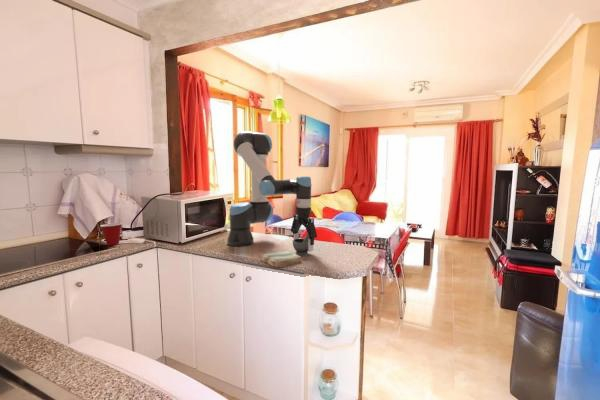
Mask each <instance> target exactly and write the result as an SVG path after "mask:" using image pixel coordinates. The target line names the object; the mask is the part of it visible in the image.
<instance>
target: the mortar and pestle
mask: <svg viewBox="0 0 600 400" xmlns="http://www.w3.org/2000/svg"><path fill="white" fill-rule="evenodd" d="M306 233H307V232H306ZM311 236H312V235H311ZM308 239H309V235H308V233H307V234H306V235H305V237H304V238H300V237H299V239H292V246H293V248H294V250H295V251H296V252H295V254H296V255H298V256H302V255H303V256H308V254H309V253H308V252H309V251H308Z"/></svg>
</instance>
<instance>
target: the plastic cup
mask: <svg viewBox="0 0 600 400" xmlns="http://www.w3.org/2000/svg"><path fill="white" fill-rule="evenodd" d="M99 226H100V228H101V230H102V233H103V236H104V240H105V243H106V246H109V247H110V246H117V245H119V243H120V239H121V233H122V226H123V222H114V223H113V222H112V223H106V224H101V225H99Z"/></svg>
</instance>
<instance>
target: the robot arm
mask: <svg viewBox="0 0 600 400" xmlns="http://www.w3.org/2000/svg"><path fill="white" fill-rule="evenodd" d="M272 141H273V140H272V138H271V137H270V136H269V135H268V134H267V133H263V132H255V131H248V130H247V131H241V132H239V133H237V134H236V136H235V137H234V139H233V149H234V151H235V153H236V155H238V156H239V157H241V159H243V161H244V162H245V164H246V165H247V167H248V168H249V169H250V172H251V195H252V196H251V199H250V200H249V201H248V202H247V201H246V202H236V203H233V204H231V205H230V207H229V212H228V213H229V233H228V236H227V243H226V244H227V245H228V246H231V247H244V246H245V247H246V246H250V245H253V244H254V236H253V232H252V230H251V225H252V224H253V225H254V224H259V223H267V222H269V221H270V220H271V219H272V218H273V215H274V207H273V205H272V204H271V203H270V200H269V199H268V198H267V197H268V196H269V197H270V196H279V195H281V196H282V195H295V199H296V201H295V202H296V203H295V205H296V207H295V211H296V212H295V214H294V215H293V220H292V225H291V227H290V228H291V229H290V232H292V235H293V238H292V240H294V239H300V237H299V236H300V235H299V231H300V228H301V226H303V227H304V228H305V230H306V233H308V235H309V239H308V252H314V245H315V239H316V238H318V233H317V230H316V224H315V219H314V217H313V218H312V217H310V215H311V214H312V207H311V206H312V178H311V177H310V176H297V177H296V179H290V178H289V179H287V178H286V179H275V178H274V176H273V174H271V172H270V170H269V169H268V168H267V160H266V159H267V157H268V156H269V153H271V151H272V148H273V142H272ZM311 235H312V236H311Z"/></svg>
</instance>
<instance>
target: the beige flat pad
mask: <svg viewBox="0 0 600 400" xmlns="http://www.w3.org/2000/svg"><path fill="white" fill-rule="evenodd" d="M259 257H260V261H262V262H264V263H266V264H268V265H270V266H272V267H274V268H275V269H277V268H281V267H285V266H290V265H293V264H298V263H302V255H297V254H296V253H294V252H290V251H288V250H286V249H282V250H278V251H271V252H267V253H263V254H260V256H259Z"/></svg>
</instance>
